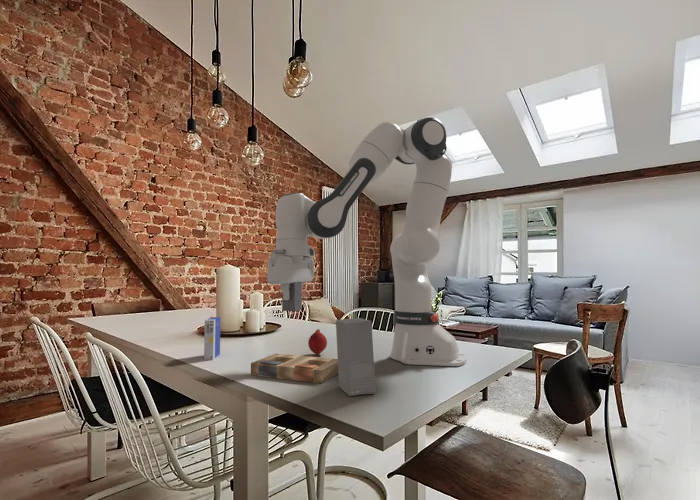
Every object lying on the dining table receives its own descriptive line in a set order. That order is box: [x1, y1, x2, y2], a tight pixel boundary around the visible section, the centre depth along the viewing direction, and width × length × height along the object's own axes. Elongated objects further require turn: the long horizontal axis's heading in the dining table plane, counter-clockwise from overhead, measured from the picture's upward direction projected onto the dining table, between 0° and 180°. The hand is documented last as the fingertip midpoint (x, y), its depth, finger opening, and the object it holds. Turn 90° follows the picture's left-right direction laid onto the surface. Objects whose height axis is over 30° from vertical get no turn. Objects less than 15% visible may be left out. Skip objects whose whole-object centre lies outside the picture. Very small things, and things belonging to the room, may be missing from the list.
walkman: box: [203, 315, 221, 361], centre depth 120 cm, size 8×3×12 cm, turn 4°
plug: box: [281, 282, 303, 312], centre depth 111 cm, size 4×4×9 cm
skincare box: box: [335, 317, 377, 397], centre depth 88 cm, size 8×7×16 cm
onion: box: [307, 328, 328, 356], centre depth 123 cm, size 6×6×8 cm
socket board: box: [250, 353, 338, 384], centre depth 102 cm, size 20×12×3 cm, turn 69°
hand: (292, 299), depth 110 cm, fingers closed on plug, 4 cm apart
